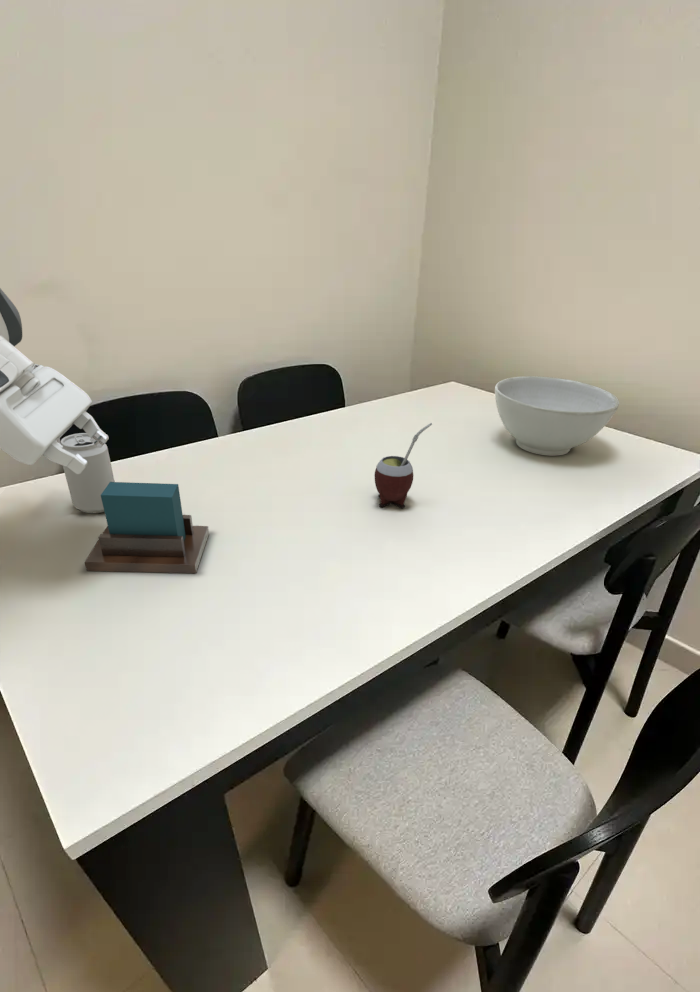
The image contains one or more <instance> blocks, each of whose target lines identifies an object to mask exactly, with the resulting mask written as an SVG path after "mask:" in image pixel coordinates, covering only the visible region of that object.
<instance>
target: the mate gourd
mask: <svg viewBox="0 0 700 992" xmlns="http://www.w3.org/2000/svg"><path fill="white" fill-rule="evenodd" d="M432 425H433V423H432V422H430V423H427V424H426V425H425V426H424V427H422V428H421V429H420V430H418V432H416V434H414V436H412V437H413V438H412V439H411V440H412V441H411V443H410V445H409V447H408V449H407V452H406V453H405V457H403V456H399V455H387V456H385V457H382V458H381V459H380V460H379V462H378V463H377V464H376V468H375V470H374V475H373V476H374V484H375V488H376V491H377V492H378V496H377V498H379V499H380V503H379V504H378V507H379V508H385V507H387V506H390V505H393V506H396V507H397V508H400V509H405V508H406V504H405V501H406V499H407V496H408V493H409V492H410V490H411V487H412V485H413V481H414V468H413V465H412V463H411V461H410V460H408V458H409V456H410V454H411V453H412V450H413V448H414V446H415V443H417V441H418V439H419V436H420V435H422V433H423V432H425V431H426V430H427V429H428V428H430V427H431V426H432Z"/></svg>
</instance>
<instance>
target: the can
mask: <svg viewBox="0 0 700 992" xmlns="http://www.w3.org/2000/svg"><path fill="white" fill-rule="evenodd" d="M90 439H91V438H90V436H89V435H88V434H87V433H86V432H79V433H73V434H69V435H66V436H64V437H63V438H61V439H60V442H59V443H60V444H61V445H62V446H63V447H62V449H64V450H66V451H68V452H70V453H72V454H74V455H75V456H76V455H77V453H78V454H79V455H80V456H82V458H83V459H85V460H87V462H88V465H87V466H86V467H85V468H84V470H83V471H82V472H81V473H80V474H76V473H75V472H73V471H72V470H71V469H69V468H68V467H67V466H63V465H62V468H63V473H64V476H65V480H66V484H67V487H68V491H69V495H70V498H71V503H72V506H73V507H74V508H76V509H77V510H79V511H81V512H83V513H87V514H99V513H105V512H104V508H103V503H102V499H101V494H102V492H103V491H104V490H105V488H106V487H107V485H108V484H109V483H110V482H116V481H115V477H114V472H113V467H112V462H111V458H110V454H109V448H108V446H107V444H106V443H105V444H104V445H103V446H102V447H101V448H100V447H97V446H96V445H95V444H94V443H92V442H91V441H90Z"/></svg>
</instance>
